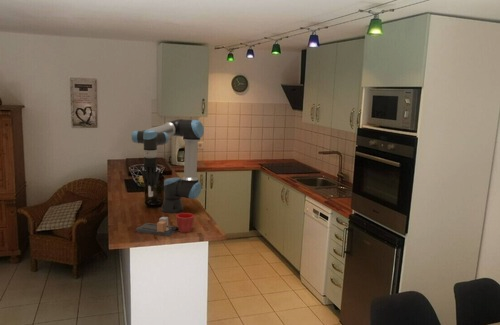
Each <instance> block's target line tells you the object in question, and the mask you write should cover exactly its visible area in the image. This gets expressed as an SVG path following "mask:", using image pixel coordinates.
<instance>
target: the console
mask: <svg viewBox="0 0 500 325" xmlns="http://www.w3.org/2000/svg"><path fill="white" fill-rule="evenodd" d="M135 231H136V232H137V233H145V234H150V235H151V234H152V235H158V236H165V237H170V236H171V235H173V234H175V233H176V232H179V230H178V226H173V225H168V226H166V230H165V231H164V232H160V231H157V223H152V222H151V223H149V222H146V223H144V224H142V225H140V226H138V227H136V228H135Z"/></svg>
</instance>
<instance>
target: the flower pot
mask: <svg viewBox="0 0 500 325" xmlns="http://www.w3.org/2000/svg"><path fill="white" fill-rule="evenodd" d="M175 217H176V223H177V227H178V232H180V233H191V232H192V229H193V223H194V219H195V215H194V214H193V213H190V212H179V213H177V214H176V216H175Z"/></svg>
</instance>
